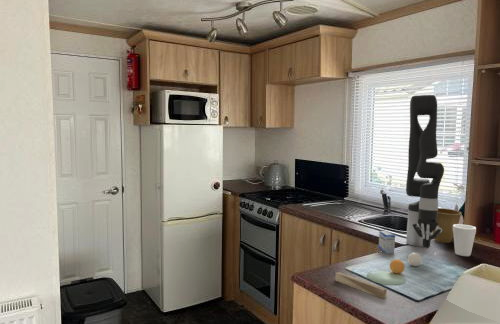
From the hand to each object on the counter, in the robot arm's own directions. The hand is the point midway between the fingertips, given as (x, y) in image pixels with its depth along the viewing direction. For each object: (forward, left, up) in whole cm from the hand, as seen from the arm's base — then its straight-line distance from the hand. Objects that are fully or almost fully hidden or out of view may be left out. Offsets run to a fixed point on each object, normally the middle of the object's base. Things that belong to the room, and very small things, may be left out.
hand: (426, 247), depth 169 cm
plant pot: (-30, +26, -6) cm, 40 cm away
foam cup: (-9, +23, -6) cm, 26 cm away
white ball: (+5, -8, -3) cm, 10 cm away
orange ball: (+13, -19, -3) cm, 24 cm away
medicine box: (-15, -11, -7) cm, 20 cm away
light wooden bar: (+28, -40, -6) cm, 49 cm away
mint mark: (+18, -26, -6) cm, 32 cm away
